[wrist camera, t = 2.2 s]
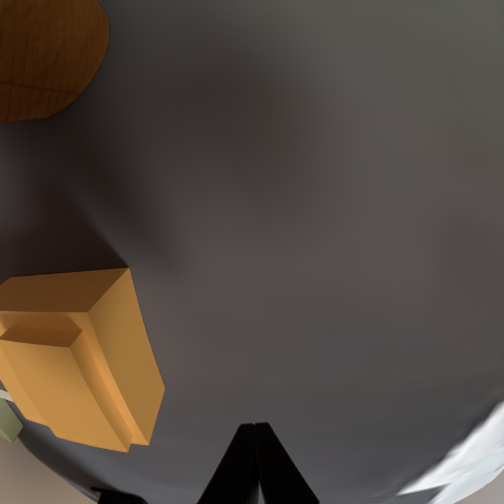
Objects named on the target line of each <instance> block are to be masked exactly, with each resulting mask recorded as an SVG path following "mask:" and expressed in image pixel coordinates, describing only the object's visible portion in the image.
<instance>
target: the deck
mask: <svg viewBox="0 0 504 504" xmlns="http://www.w3.org/2000/svg"><path fill="white" fill-rule="evenodd" d="M5 399H6V400H9V401H12V402H14V401H13V399H12V398H11V396H10V394H9V393H8V391H7V390H6V388H5V386H4V385H3V383H2V381H1V380H0V437H1V438H3V439H5V440H7V441H9V442H11V443H13V442H14V441H15V439H16V437H17V436H18V434H19V432H20V431H21V429H22V428H23V425H22V423H21V422H20V420H19V419H18V418H17V416H16V415H15V414H14V412H13V411H12V409H11V408H10V406H9V405H8V403H7V402H6V400H5Z"/></svg>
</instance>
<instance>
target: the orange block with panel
mask: <svg viewBox="0 0 504 504" xmlns="http://www.w3.org/2000/svg"><path fill="white" fill-rule="evenodd" d="M0 380H1V381H2V383H3V385H4V386H5V388H6V390H7V391H8V393H9V394H10V396H11V398H12V399H13V401H14V402H15V404H16V405H17V407H18V408H19V410H20V411H21V412H22V414H23V415H24V417H25V418H26V419H28V420H31V421H34V422H37V423H40V424H44V425H47V426H49V427H50V429H51V430H52V431H53V433H54V434H55V435H56V437H59V438H63V439H66V440H70V441H74V442H78V443H82V444H86V445H91V446H95V447H100V448H105V449H111V450H116V451H122V452H128V451H129V447H130V444H131V443H133V444H141V445H149V443H150V439H151V435H152V432H153V428H154V425H155V421H156V418H157V414H158V411H159V407H160V404H161V400H162V397H163V394H164V390H165V387H164V384H163V381H162V378H161V376H160V373H159V370H158V367H157V364H156V361H155V358H154V355H153V352H152V349H151V346H150V343H149V339H148V336H147V333H146V329H145V326H144V323H143V319H142V316H141V312H140V308H139V305H138V301H137V297H136V293H135V289H134V285H133V281H132V277H131V273H130V268H117V269H106V270H94V271H82V272H70V273H57V274H45V275H33V276H20V277H11V278H9V279H8V280H6V281H5V282H4V283H2V284H1V285H0Z"/></svg>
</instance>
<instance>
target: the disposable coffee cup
mask: <svg viewBox="0 0 504 504" xmlns="http://www.w3.org/2000/svg"><path fill="white" fill-rule="evenodd" d="M109 29H110V26H109V20H108V17H107V15H106V13H105V11H104V10H103V9H102V7H101V6H100V4H99V3H98V1H97V0H0V123H4V122H7V121H8V122H12V121H16V120H17V121H20V120H25V119H26V120H28V119H40V118H46V117H48V116H51V115H53V114H55V113H58V112H59V111H61V110H62V109H64V108H66V107H67V106H68V105H69V104H70V103H71V102H73V101H74V100H75V99H76V98H77V97H78V96H79V95H80V93H81V92H82V91H83V90H84V89H85V88H86V87H87V85H88V84H89V83H90V81H91V80H92V79H93V77H94V76H95V74H96V72H97V70H98V68H99V67H100V65H101V63H102V60H103V58H104V55H105V53H106V50H107V46H108V42H109Z"/></svg>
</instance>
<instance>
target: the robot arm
mask: <svg viewBox="0 0 504 504" xmlns="http://www.w3.org/2000/svg"><path fill="white" fill-rule="evenodd" d="M259 481H260V486H261V491H262V495H263V500H264V504H320V501H319V500H318V499H317V497H316V496H315V494H314V493H313V491H312V490H311V488H310V487H309V485H308V484H307V483H306V481H305V480H304V478H303V477H302V475H301V474H300V472H299V470H298V469H297V467H296V466H295V464H294V463H293V461H292V460H291V458H290V457H289V455H288V453H287V452H286V450H285V449H284V447H283V446H282V444H281V442H280V441H279V439H278V437H277V436H276V434H275V433H274V431H273V429H272V428H271V426H270V424H269V423H268V422H262V423H256V424H255V425H254V424H253V423H247V424H241V425H240V426H239V427H238V429H237V431H236V433H235V435H234V437H233V439H232V441H231V443H230V445H229V447H228V448H227V450H226V452H225V454H224V456H223V458H222V460H221V462H220V463H219V465H218V467H217V469H216V471H215V473H214V474H213V476H212V478H211V480H210V481H209V483H208V485H207V487H206V488H205V490H204V492H203V494H202V495H201V497H200V499H199V501H198V502H197V504H258V497H259ZM90 491H91V492H92V493H93V494H94V495H95V496H96V497H97V498H98V499H99V500H98V504H147V503H146V502H145V501H144V500H142V499H140V498H136V497H130V496H125V495H121V494H116V493H112V492H108V491H104V490H100V489H96V488H92V487H91V488H90Z"/></svg>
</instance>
